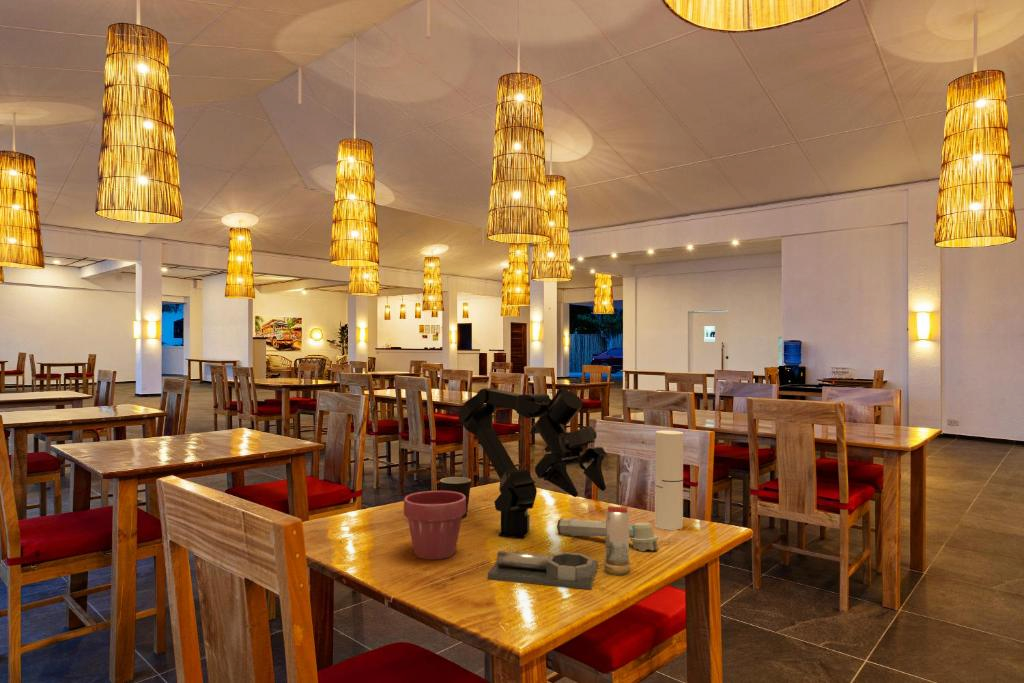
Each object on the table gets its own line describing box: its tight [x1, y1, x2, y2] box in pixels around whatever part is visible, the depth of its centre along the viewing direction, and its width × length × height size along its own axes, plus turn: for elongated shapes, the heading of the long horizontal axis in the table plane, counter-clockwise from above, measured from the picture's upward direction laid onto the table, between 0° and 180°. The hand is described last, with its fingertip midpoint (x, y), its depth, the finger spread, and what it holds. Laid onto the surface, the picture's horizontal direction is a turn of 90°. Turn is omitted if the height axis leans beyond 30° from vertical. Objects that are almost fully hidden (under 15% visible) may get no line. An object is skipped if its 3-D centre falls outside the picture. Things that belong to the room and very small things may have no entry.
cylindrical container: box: [654, 429, 684, 531], centre depth 161 cm, size 7×7×25 cm
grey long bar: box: [556, 517, 659, 552], centre depth 148 cm, size 5×7×25 cm
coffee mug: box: [439, 476, 472, 519], centre depth 170 cm, size 12×9×10 cm
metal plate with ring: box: [487, 550, 599, 590], centre depth 126 cm, size 21×13×4 cm, turn 76°
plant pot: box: [403, 490, 466, 560], centre depth 138 cm, size 14×14×13 cm
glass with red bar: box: [603, 505, 631, 576], centre depth 128 cm, size 5×5×13 cm
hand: (590, 492), depth 134 cm, fingers open, 9 cm apart
